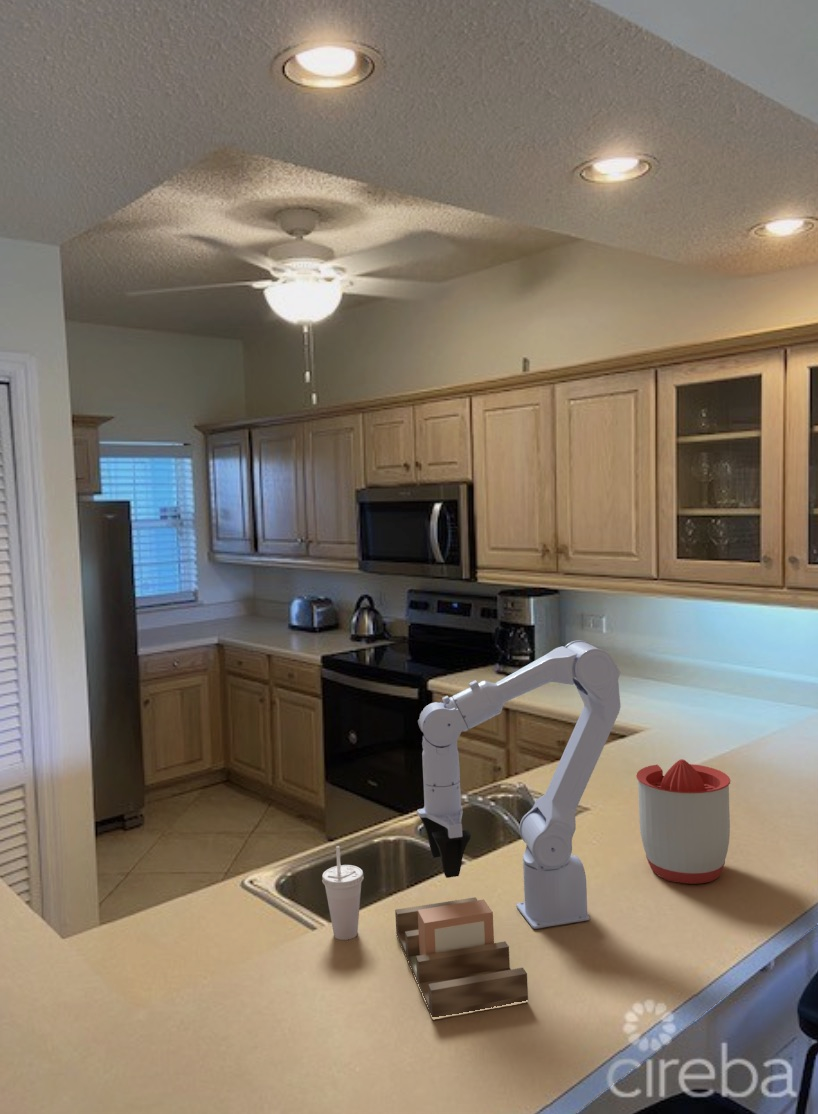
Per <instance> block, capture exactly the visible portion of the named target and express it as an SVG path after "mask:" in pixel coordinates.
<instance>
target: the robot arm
mask: <svg viewBox="0 0 818 1114" xmlns="http://www.w3.org/2000/svg"><path fill="white" fill-rule="evenodd" d="M620 676H621V671H620V669H619V668H618V666H617V664H616V662H615V660H614V658H613V657H612V655H611V653H609V652H607V651H606V650H604V649H601V648H597V647H596V646H594V645H592V644H590V643H589V642H588V641H585V640H579V639H578V640H572V641H570V642H568V643H567V644H566V645H564V646H563V645H562V646H559V647H555V648H554V649H551V651H549V652H547V653H546V654H545V655H543V656H541V657H539V658H537V659H535V660H534V661H532V662H530V663H529V664H527V665H525V666H522V667H521V668H520V669H518V670H516V671H515V672H513V673H511V674H509V675H507V676H505V677H504V678H502V679H500V680H498V681H496V682H490V681H489V680H481V681H479V682H478V681H477V680H475V679H474V680H473V681H471V682H469V683H468V686H469V687H468V688H465V689H464V690H461V691H460V692H458V693H456V694H454V695H452V696H450V697H449V696H448V695H445V696H443V697H442V698H441V700H442V702H437V701H435V702H431V703H429V704H428V705H426V706H424V708H423V710H421V712H420V713H419V719H418V720H417V723H418V727H419V729H420V731H421V733H423V735H422V742H421V745H422V753H421V755H422V756H421V757H422V758H421V759H422V778H423V779H422V780H423V800H424V801H423V802H424V806H423V808H419V809H417V810H416V813H417V816H418V817H419V818H420V819H421V823H422V824H423V827H424V829H425V832H426V837H427V839H428V841H427V842H428V845H429V849H430V853H431V855H432V858H440V860H441V866H442V870H443V874H444V877H445V878H446V879H449V878H455V877H459V876H460V873H461V869H462V863H463V857H464V853H465V850H466V848H467V846H468V843H469V841H470V840H471V836H472V835H471V833H470V831H469V829H466V830H463V824H462V819H463V818H462V817H463V806H462V799H461V796H462V795H461V779H460V777H461V776H460V772H461V771H460V754H459V750H458V740H459V738H460V736H461V733H462V732H467V731H469V730H470V729H473V728H474V727H477V726H479V725H480V724H483V723H484V722H486V721H489V720H490V719H493V718H494V717H496V716H498V715H500V714H502V710H503V708H504V705H505V703H506V702H508V701H511V700H512V699H515V698H517V697H520V696H522V695H524V694H526V693H529V692H531V691H533V690H535V689H537V688H540V687H542V686H544V685H547V684H549V683H558V684H564V685H572V686H573V685H575V686H576V689H577V692H578V694H579V695H580V698H581V701H582V702H583V708H582V710H581V713H580V715H579V717H578V719H577V721H576V724H575V726H574V728H573V730H572V733H571V735H570V737H569V739H568V741H567V744H566V746H565V748H564V751H563V753H562V756H561V757H560V760H559V762H558V764H557V766H556V768H555V771H554V772H553V775H552V778H551V780H550V782H549V785H548V787H547V789H546V791H545V793H544V794H543V795H542V796H540V797H538V798H537V799H536V800H535V802H534V805H533V806H532V807H531V809H530V810H528V812H527V813H525V814H524V815H523V816H522V818H521V819H520V823H519V827H518V829H519V830H518V831H519V836H520V837H521V839H522V840H523V842H524V843H525V844H526V846H525V850H524V852H523V856H522V868H523V893H524V901H522V902H518V903H516V908H517V910H518V911H519V912H520V914H521V915H522V916H523V918H524V919H525V920H526V921H527V923H529V924H528V925H530V927H531V928H532V929H534V930H536V929H537V930H538V929H543V928H548V927H555V926H562V925H568V924H573V923H580V922H585V921H589V920H590V916H589V914H588V897H587V896H588V894H587V893H588V892H587V891H588V889H587V876H586V871H585V868H584V863H583V862H582V860H581V859H580V857H579V856H578V855H575V854H572V853H573V837H574V834H575V832H576V829H577V828H576V823H577V822H576V810H577V808H578V806H579V804H580V801H581V799H582V797H583V795H584V793H585V789H586V788H587V785H588V783H589V781H590V779H591V777H592V774H593V772H594V770H595V768H596V766H597V763H598V761H599V758H600V756H601V754H602V752H603V749H604V748H605V745H606V742H608V738H609V736H610V733H611V732H612V729H613V727H614V725H615V723H616V720H617V718H618V715H619V714H620V711H621V699H620V698H621V696H620V686H619V678H620Z"/></svg>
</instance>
